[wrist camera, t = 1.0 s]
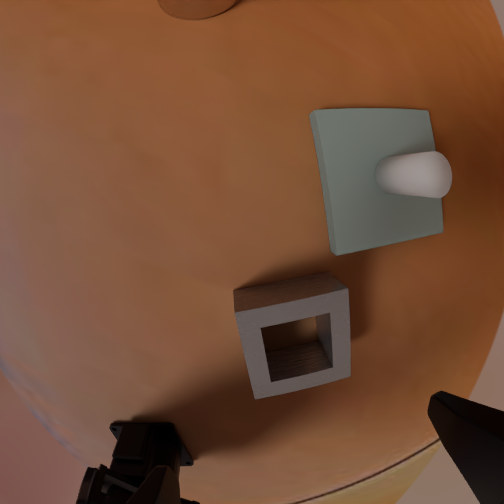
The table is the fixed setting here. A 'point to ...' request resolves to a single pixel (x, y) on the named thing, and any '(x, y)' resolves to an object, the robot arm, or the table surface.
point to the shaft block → (379, 176)
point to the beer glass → (195, 8)
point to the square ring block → (291, 309)
